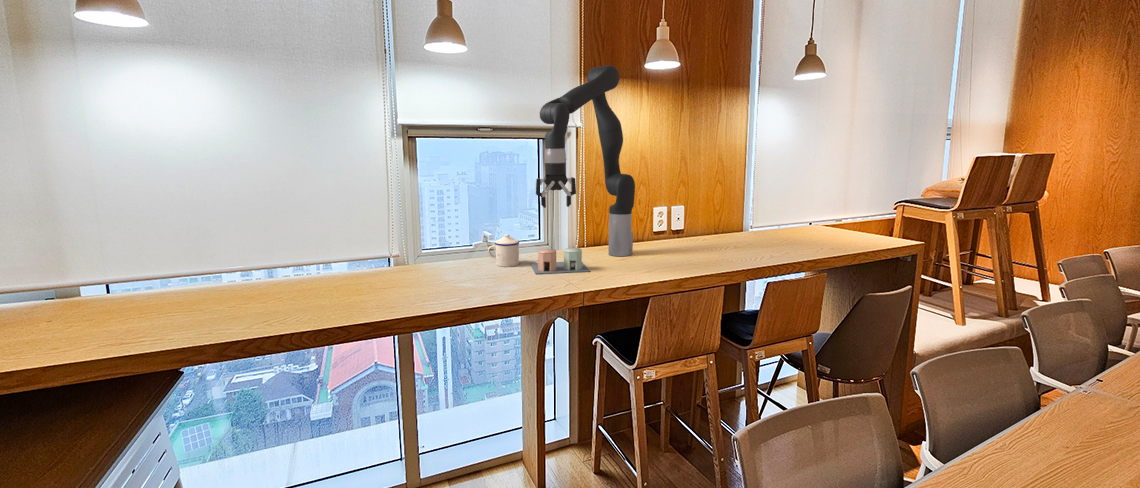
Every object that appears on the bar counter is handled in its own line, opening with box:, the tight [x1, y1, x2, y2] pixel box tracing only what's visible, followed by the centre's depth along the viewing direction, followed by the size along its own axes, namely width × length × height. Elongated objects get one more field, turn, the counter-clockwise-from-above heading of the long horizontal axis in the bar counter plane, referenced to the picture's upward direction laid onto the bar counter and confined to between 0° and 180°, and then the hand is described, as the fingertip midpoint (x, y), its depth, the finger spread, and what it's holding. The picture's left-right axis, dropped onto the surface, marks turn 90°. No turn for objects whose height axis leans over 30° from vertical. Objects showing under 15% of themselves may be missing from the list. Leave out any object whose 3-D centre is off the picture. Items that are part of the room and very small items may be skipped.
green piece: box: [563, 247, 583, 270], centre depth 201 cm, size 6×6×7 cm
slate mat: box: [529, 261, 592, 275], centre depth 204 cm, size 20×16×1 cm
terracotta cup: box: [537, 248, 557, 272], centre depth 199 cm, size 6×6×7 cm
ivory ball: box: [570, 261, 576, 268], centre depth 201 cm, size 3×3×3 cm
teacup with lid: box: [487, 233, 520, 268], centre depth 208 cm, size 12×9×12 cm
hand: (556, 207), depth 197 cm, fingers open, 8 cm apart
